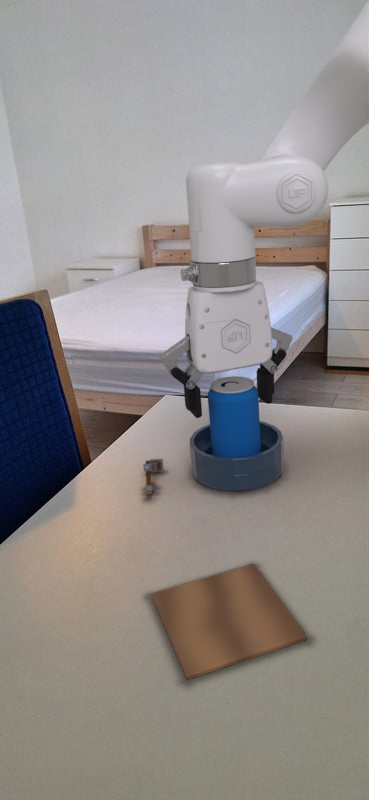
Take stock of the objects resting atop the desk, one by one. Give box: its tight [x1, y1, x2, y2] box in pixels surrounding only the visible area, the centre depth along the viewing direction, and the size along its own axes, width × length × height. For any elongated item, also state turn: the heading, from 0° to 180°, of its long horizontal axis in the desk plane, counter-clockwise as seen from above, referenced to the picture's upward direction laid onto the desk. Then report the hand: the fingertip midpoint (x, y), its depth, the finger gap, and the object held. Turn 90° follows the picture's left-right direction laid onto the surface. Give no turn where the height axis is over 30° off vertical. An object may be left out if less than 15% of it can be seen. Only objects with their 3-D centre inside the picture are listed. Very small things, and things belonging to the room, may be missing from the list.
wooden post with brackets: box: [142, 458, 164, 498], centre depth 78 cm, size 2×8×4 cm, turn 175°
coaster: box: [150, 563, 308, 680], centre depth 55 cm, size 11×11×1 cm
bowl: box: [189, 420, 285, 492], centre depth 80 cm, size 12×12×5 cm
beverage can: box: [207, 375, 261, 458], centre depth 78 cm, size 6×6×12 cm
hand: (230, 407), depth 77 cm, fingers open, 9 cm apart
